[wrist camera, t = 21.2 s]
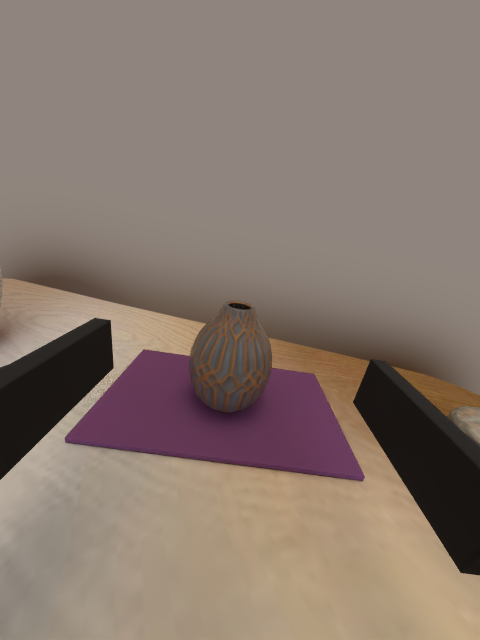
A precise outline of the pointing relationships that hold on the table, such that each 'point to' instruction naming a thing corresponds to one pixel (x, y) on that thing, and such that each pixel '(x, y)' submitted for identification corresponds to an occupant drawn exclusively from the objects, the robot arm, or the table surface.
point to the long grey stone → (467, 420)
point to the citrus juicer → (0, 285)
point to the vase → (231, 359)
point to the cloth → (219, 421)
